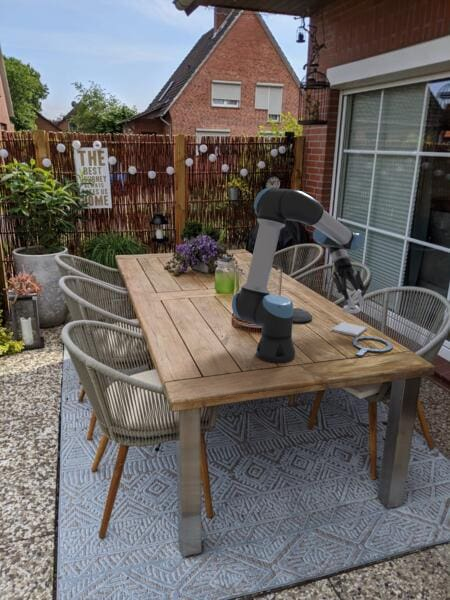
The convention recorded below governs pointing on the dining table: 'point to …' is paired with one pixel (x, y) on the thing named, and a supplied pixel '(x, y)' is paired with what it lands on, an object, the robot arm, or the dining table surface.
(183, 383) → the dining table surface
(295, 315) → the flying saucer
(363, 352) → the eye ring
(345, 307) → the hook
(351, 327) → the tile
